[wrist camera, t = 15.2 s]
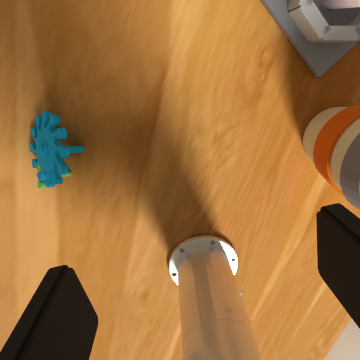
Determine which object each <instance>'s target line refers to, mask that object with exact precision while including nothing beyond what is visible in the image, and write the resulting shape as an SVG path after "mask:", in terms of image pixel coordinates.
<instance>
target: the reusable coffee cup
mask: <svg viewBox="0 0 360 360" xmlns="http://www.w3.org/2000/svg"><path fill="white" fill-rule="evenodd" d="M303 149H304V152H305V154H306V155H307V157H308V158H309V159H310V160H311V161H312V162H313V163H314V164H315V167H316V168H317V170H318V172H319V173H320V174H321V175H322V176H323V177H324V178H325V179H326V180H327V181H328V182H329V183H330V184H331V185H332V186H333V187H334V188H335V189H336V190H337V191H338V192H339V193H340V194H342V195H344V196H345V197H346V199H347V200H348V201H349V202H350V203H351V204H352V205H353V206H354V207H356V208H358V209H360V104H357V105H353V106H350V107H332V108H329V109H326V110H324V111H322V112H320V113H319V114H318V115H316V116H315V117H314V118H313V119H312V120H311V121H310V123H309V124H308V126H307V128H306V130H305V132H304V136H303Z"/></svg>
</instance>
